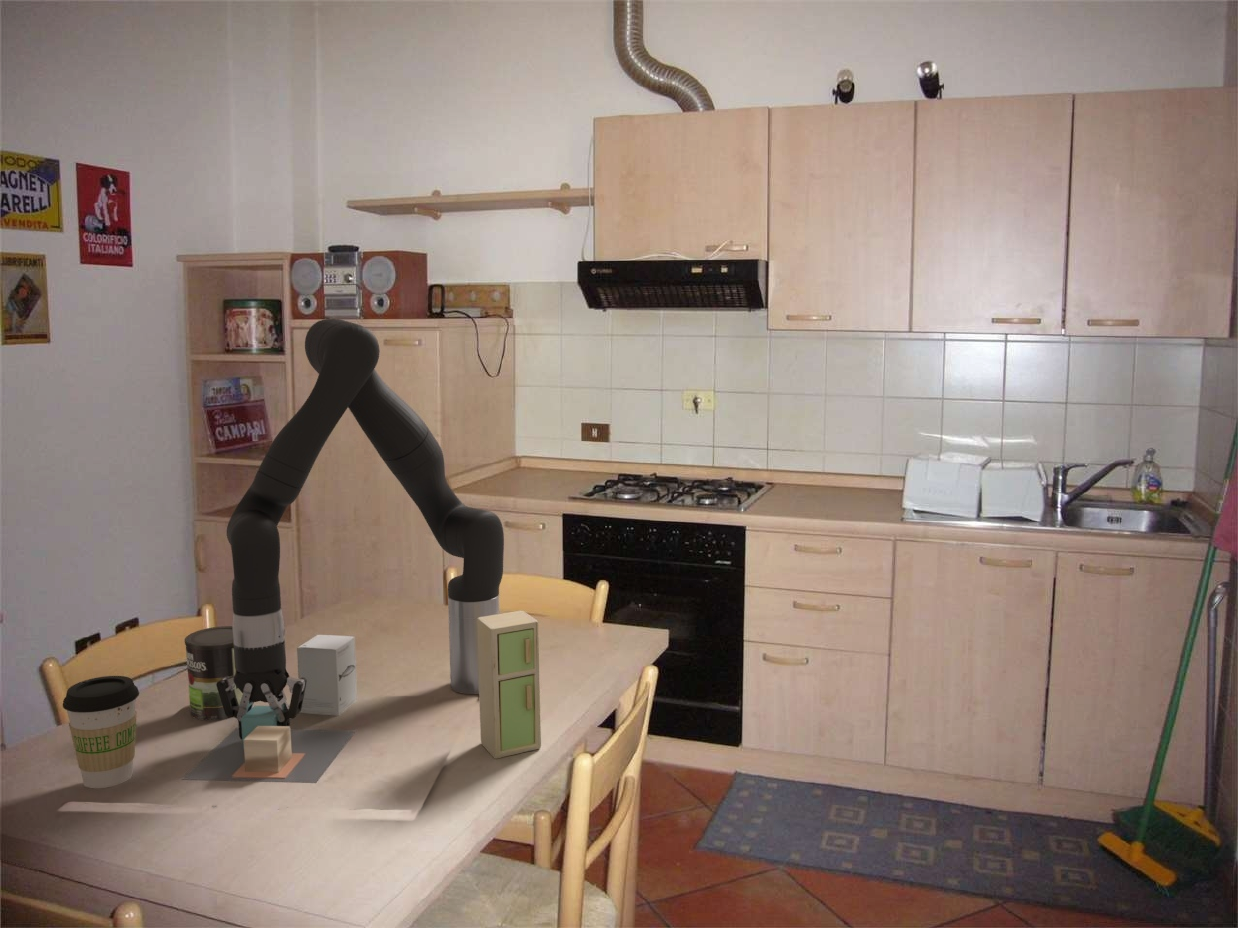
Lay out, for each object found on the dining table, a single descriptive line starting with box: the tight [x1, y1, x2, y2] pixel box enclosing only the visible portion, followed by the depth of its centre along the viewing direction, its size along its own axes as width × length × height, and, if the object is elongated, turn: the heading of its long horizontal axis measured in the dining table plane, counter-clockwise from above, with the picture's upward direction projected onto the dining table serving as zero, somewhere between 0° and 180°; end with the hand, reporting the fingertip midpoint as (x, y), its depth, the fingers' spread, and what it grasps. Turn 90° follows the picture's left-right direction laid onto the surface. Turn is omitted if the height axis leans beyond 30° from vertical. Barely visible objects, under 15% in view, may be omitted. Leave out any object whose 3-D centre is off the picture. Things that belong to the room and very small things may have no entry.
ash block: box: [244, 725, 292, 773], centre depth 148 cm, size 5×5×5 cm
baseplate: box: [181, 727, 357, 784], centre depth 152 cm, size 20×18×1 cm
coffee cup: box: [62, 675, 140, 789], centre depth 143 cm, size 10×10×15 cm
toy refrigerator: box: [477, 610, 542, 760], centre depth 155 cm, size 8×7×21 cm
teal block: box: [241, 705, 278, 749], centre depth 156 cm, size 5×5×5 cm
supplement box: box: [296, 634, 358, 716], centre depth 170 cm, size 7×7×13 cm
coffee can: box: [184, 625, 243, 721], centre depth 169 cm, size 10×10×14 cm
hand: (265, 740), depth 156 cm, fingers closed on teal block, 5 cm apart
